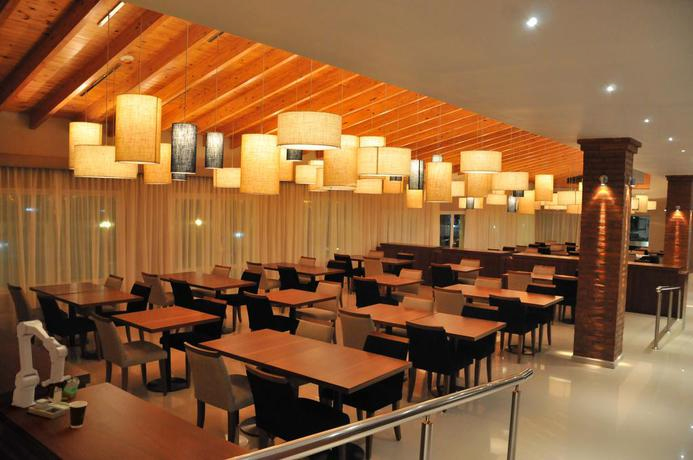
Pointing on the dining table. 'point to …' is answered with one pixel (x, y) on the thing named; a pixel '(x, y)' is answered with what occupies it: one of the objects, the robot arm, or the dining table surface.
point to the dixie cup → (77, 413)
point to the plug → (56, 395)
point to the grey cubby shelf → (48, 411)
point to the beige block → (41, 404)
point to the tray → (60, 405)
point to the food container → (70, 389)
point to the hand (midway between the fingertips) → (55, 396)
